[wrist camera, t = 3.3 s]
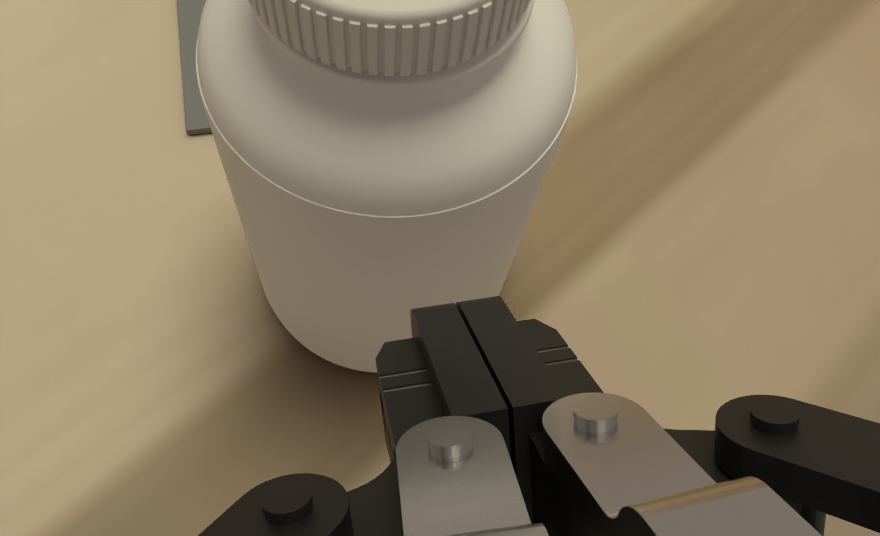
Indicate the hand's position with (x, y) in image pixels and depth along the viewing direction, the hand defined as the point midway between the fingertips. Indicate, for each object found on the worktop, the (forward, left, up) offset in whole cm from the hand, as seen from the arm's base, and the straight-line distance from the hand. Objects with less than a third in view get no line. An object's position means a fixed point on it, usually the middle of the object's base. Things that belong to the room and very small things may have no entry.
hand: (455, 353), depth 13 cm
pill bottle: (-5, +5, -12) cm, 14 cm away
